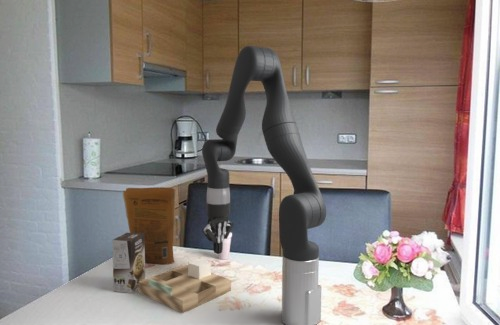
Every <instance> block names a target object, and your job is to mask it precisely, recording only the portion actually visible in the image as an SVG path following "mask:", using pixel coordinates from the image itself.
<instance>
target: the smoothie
mask: <svg viewBox="0 0 500 325" xmlns="http://www.w3.org/2000/svg"><path fill="white" fill-rule="evenodd" d="M225 234H226V232H225ZM232 237H233V232H231V231H230V233H229V235H228V238H227V239H224V241H223V250H222V253H220V254H217V255H218V259H219V260H220V261H227V260H229V258H230V251H231V250H230V249H231V243H232Z"/></svg>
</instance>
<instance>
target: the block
mask: <svg viewBox="0 0 500 325" xmlns="http://www.w3.org/2000/svg"><path fill="white" fill-rule="evenodd" d="M187 265H188V275H189V276H192V277H194V278H197V279H201V278H204V277H206V276H209V275H211V273H212V262H211V261H207V260H205V259H202V258H198V259H195V260H192V261H190V262H187Z"/></svg>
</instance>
